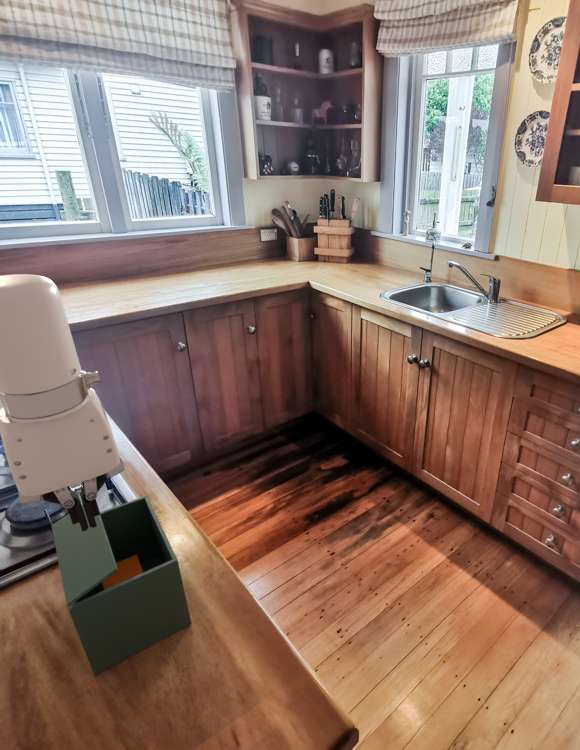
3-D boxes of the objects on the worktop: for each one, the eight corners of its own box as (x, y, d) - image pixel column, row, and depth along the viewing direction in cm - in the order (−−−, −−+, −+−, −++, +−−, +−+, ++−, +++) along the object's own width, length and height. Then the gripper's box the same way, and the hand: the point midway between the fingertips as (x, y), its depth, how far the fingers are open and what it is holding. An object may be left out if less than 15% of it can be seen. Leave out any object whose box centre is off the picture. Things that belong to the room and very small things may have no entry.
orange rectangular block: (118, 636, 62) (109, 611, 60) (106, 594, 68) (98, 570, 66) (157, 616, 65) (150, 592, 63) (142, 577, 71) (136, 554, 68)
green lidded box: (94, 676, 58) (68, 609, 52) (76, 592, 69) (52, 529, 63) (191, 624, 65) (177, 560, 59) (161, 554, 75) (147, 494, 70)
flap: (68, 606, 52) (66, 604, 52) (53, 526, 63) (51, 525, 63) (118, 570, 54) (116, 568, 54) (95, 499, 65) (93, 497, 65)
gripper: (115, 364, 56) (144, 483, 64) (-44, 398, 48) (12, 530, 56) (129, 388, 51) (159, 515, 59) (-47, 431, 43) (16, 571, 51)
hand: (87, 522), depth 58 cm, fingers closed
